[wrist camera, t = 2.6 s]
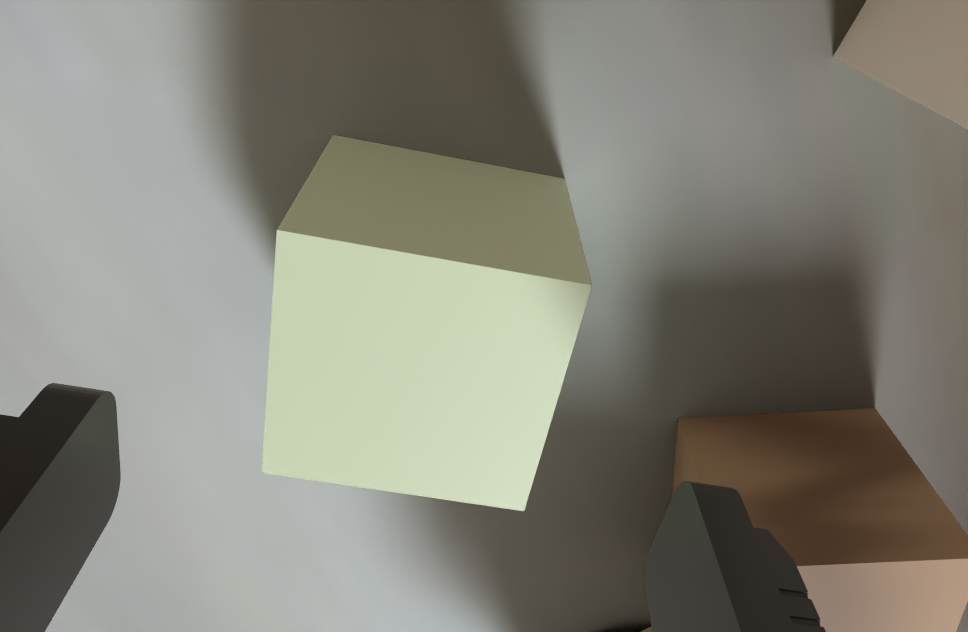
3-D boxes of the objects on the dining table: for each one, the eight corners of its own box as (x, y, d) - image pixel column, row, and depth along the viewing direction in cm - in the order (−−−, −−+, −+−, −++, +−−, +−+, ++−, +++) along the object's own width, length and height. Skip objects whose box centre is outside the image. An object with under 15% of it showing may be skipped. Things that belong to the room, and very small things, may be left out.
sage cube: (564, 177, 16) (592, 285, 12) (515, 365, 19) (524, 511, 15) (333, 134, 16) (276, 230, 12) (314, 332, 18) (261, 472, 14)
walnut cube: (873, 406, 20) (983, 557, 15) (840, 544, 22) (927, 708, 18) (677, 416, 20) (731, 568, 15) (667, 552, 22) (710, 716, 18)
